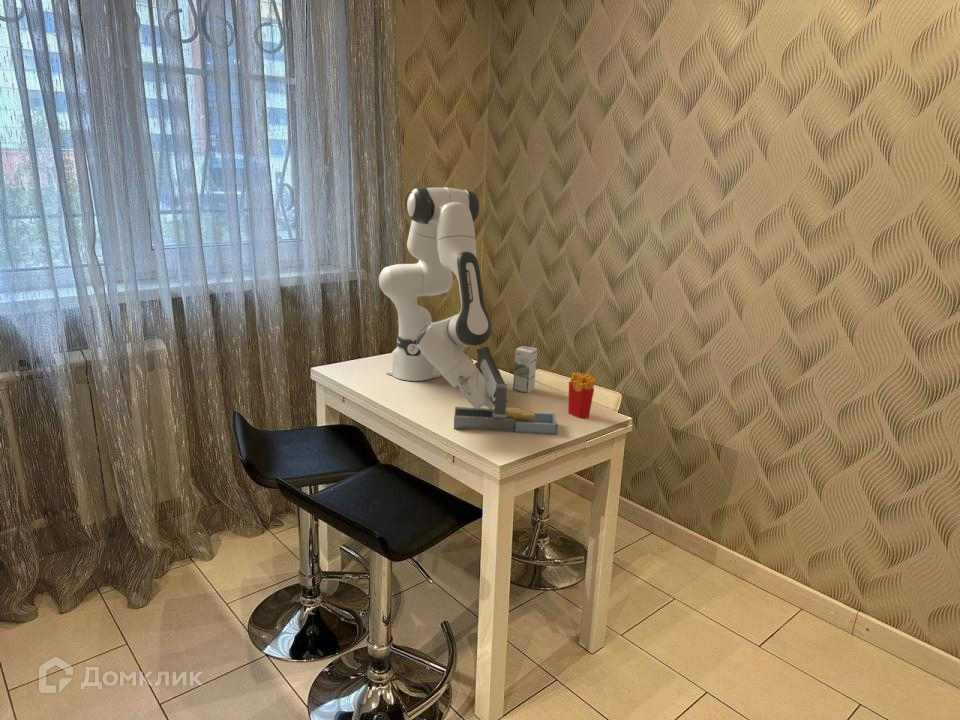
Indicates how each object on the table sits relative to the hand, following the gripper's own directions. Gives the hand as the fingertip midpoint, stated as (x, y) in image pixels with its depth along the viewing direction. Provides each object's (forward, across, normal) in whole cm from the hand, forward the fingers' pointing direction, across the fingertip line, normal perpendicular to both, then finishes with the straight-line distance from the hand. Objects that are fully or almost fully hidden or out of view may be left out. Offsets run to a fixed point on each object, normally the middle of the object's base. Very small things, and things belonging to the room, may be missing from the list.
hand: (492, 406), depth 198 cm
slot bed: (+2, 0, +6) cm, 6 cm away
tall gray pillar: (+5, 0, +2) cm, 5 cm away
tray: (+13, 0, -5) cm, 14 cm away
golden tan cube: (+8, 0, -1) cm, 8 cm away
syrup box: (+12, +34, -4) cm, 36 cm away
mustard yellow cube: (+11, 0, -3) cm, 12 cm away
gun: (+4, +29, +5) cm, 29 cm away
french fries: (+23, +13, -15) cm, 31 cm away
